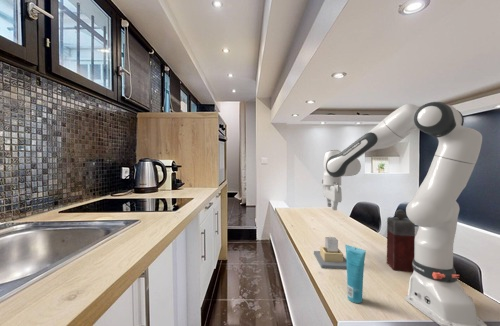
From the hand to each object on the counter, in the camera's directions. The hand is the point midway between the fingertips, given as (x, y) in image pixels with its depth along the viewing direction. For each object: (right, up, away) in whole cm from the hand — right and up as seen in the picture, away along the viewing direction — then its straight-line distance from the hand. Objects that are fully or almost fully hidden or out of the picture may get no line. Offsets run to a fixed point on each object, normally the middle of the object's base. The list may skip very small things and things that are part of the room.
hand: (331, 208), depth 119 cm
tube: (-4, -27, -34) cm, 44 cm away
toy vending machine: (+31, -28, -5) cm, 42 cm away
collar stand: (0, -27, 0) cm, 27 cm away
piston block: (0, -26, 0) cm, 26 cm away
